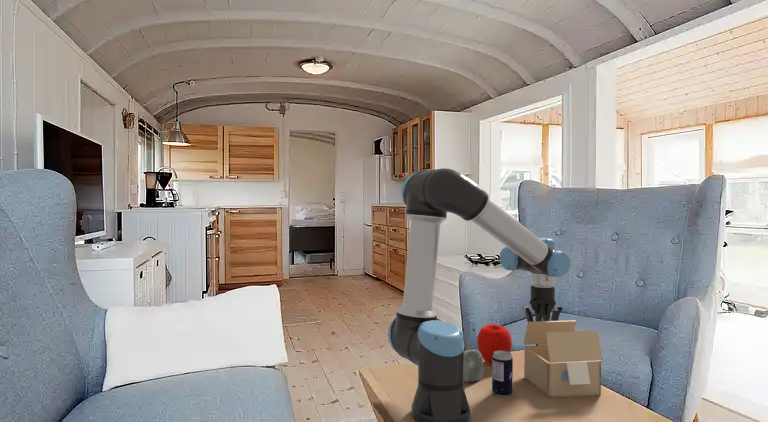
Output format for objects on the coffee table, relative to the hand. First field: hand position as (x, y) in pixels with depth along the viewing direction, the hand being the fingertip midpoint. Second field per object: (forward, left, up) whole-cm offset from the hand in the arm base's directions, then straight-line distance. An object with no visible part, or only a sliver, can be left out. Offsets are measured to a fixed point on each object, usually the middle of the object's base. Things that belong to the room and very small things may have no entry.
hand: (542, 357), depth 158 cm
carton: (0, -13, -5) cm, 13 cm away
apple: (-13, +8, -5) cm, 16 cm away
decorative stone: (-26, -2, -5) cm, 27 cm away
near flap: (0, -21, +7) cm, 22 cm away
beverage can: (-20, -17, -5) cm, 26 cm away
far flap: (0, -5, +7) cm, 8 cm away
